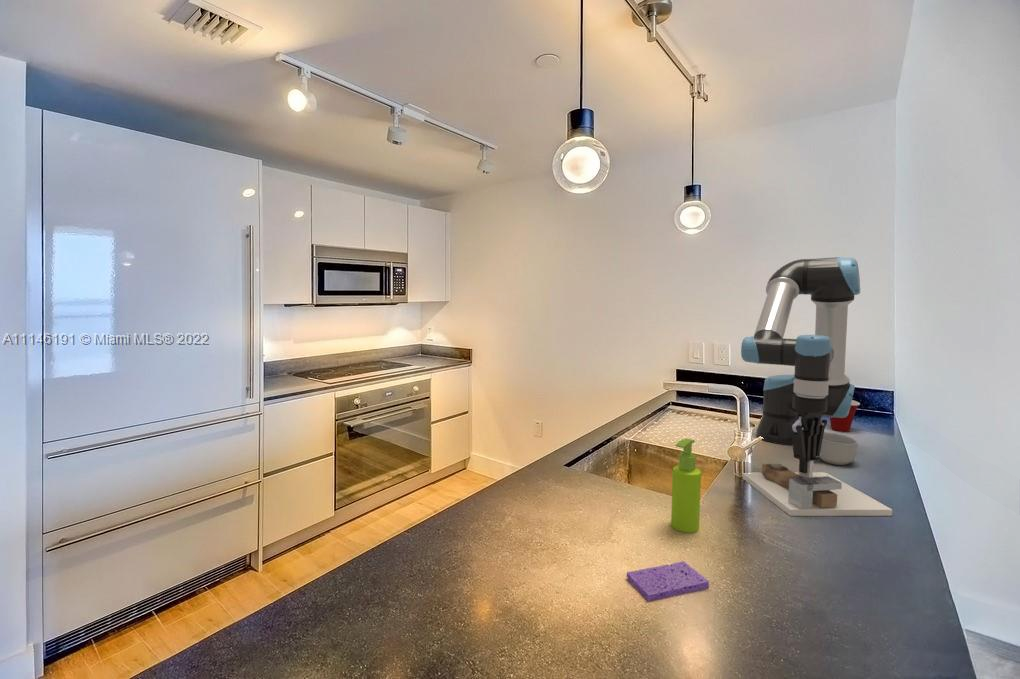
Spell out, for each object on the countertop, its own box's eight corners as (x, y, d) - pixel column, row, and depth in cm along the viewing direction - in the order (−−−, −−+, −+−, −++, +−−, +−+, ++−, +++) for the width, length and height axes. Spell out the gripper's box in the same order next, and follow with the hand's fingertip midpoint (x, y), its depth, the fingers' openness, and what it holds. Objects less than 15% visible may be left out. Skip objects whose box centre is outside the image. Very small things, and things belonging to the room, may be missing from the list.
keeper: (787, 507, 114) (789, 478, 114) (826, 505, 116) (828, 476, 115) (800, 515, 110) (801, 485, 110) (839, 512, 112) (841, 482, 111)
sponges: (709, 591, 83) (709, 581, 83) (647, 604, 79) (647, 594, 79) (683, 569, 90) (684, 560, 89) (625, 581, 86) (626, 571, 86)
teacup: (842, 456, 151) (844, 432, 150) (864, 468, 140) (866, 442, 140) (797, 455, 152) (798, 431, 152) (815, 467, 142) (817, 441, 141)
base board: (741, 477, 134) (741, 472, 133) (825, 477, 133) (825, 472, 133) (789, 515, 110) (790, 509, 110) (892, 515, 110) (892, 509, 110)
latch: (759, 474, 131) (759, 461, 131) (777, 473, 132) (778, 460, 131) (818, 507, 110) (819, 492, 110) (839, 506, 111) (840, 490, 111)
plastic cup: (856, 435, 173) (858, 404, 172) (821, 430, 181) (823, 399, 180) (860, 429, 181) (862, 399, 180) (826, 424, 189) (828, 395, 188)
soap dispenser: (664, 527, 104) (666, 440, 103) (678, 517, 109) (681, 434, 107) (689, 537, 100) (692, 446, 98) (703, 526, 105) (706, 439, 103)
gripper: (810, 390, 126) (805, 474, 128) (780, 395, 120) (775, 483, 122) (840, 395, 120) (834, 484, 122) (810, 400, 114) (805, 494, 116)
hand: (805, 483), depth 122 cm, fingers closed
